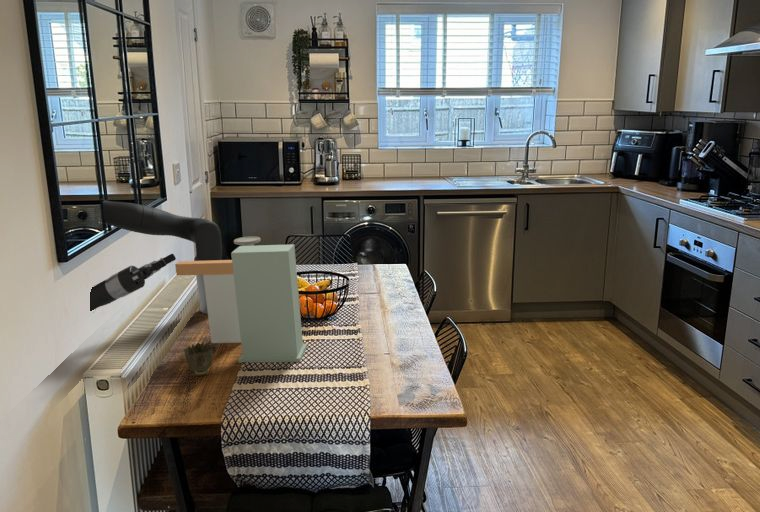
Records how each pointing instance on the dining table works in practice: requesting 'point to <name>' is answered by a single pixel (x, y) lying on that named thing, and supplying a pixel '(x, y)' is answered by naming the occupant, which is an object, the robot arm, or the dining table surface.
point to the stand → (268, 303)
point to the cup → (199, 358)
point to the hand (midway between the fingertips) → (169, 259)
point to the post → (222, 308)
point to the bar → (204, 267)
